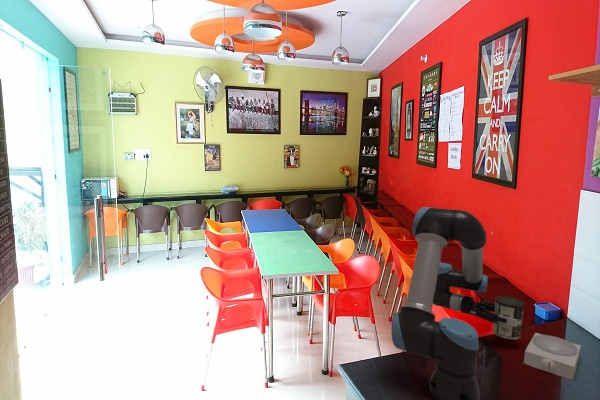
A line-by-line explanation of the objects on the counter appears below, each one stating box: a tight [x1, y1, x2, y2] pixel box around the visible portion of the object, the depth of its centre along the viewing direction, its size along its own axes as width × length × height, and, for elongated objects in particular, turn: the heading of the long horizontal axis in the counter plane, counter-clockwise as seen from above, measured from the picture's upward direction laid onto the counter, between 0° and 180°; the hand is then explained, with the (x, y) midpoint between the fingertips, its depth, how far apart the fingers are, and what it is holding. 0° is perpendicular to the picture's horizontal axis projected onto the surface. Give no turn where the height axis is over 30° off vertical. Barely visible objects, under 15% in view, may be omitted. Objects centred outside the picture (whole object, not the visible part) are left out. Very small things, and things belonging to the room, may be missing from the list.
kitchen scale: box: [523, 332, 581, 381], centre depth 143 cm, size 15×21×6 cm
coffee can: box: [492, 295, 525, 340], centre depth 155 cm, size 10×10×14 cm
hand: (519, 319), depth 152 cm, fingers closed on coffee can, 10 cm apart
